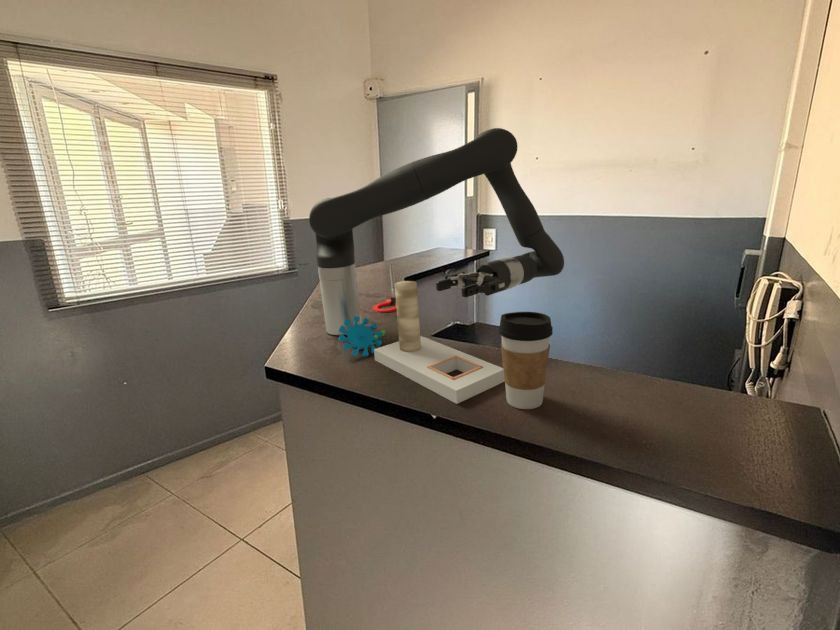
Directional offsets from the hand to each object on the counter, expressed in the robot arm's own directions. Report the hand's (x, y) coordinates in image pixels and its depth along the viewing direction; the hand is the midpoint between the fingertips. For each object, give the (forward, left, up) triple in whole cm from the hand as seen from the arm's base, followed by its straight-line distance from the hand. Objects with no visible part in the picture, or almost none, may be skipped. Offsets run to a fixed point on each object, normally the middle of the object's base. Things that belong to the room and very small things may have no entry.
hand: (449, 289), depth 96 cm
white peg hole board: (+8, -12, -13) cm, 19 cm away
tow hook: (-36, +6, -13) cm, 39 cm away
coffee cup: (+28, -9, -13) cm, 32 cm away
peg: (0, -12, -10) cm, 16 cm away
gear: (-11, -17, -13) cm, 24 cm away
